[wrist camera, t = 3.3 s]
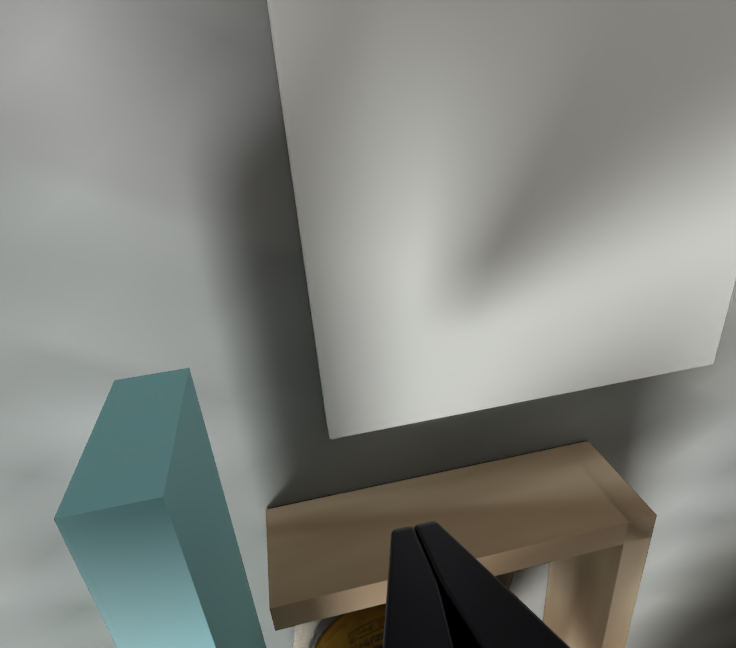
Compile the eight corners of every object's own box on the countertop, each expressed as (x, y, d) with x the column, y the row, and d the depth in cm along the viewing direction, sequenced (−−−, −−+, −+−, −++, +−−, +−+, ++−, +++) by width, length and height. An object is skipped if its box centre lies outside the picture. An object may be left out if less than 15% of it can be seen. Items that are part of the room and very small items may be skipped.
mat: (696, 353, 15) (713, 364, 15) (326, 425, 13) (330, 439, 13) (814, -128, 10) (845, -139, 10) (251, -108, 8) (251, -120, 8)
